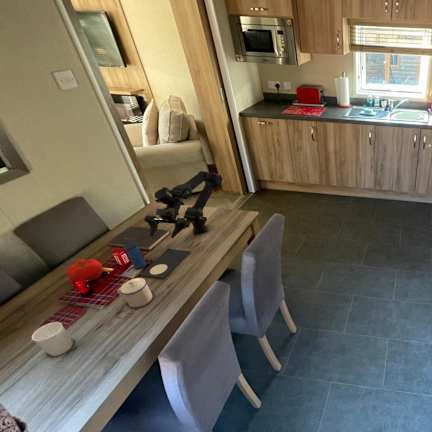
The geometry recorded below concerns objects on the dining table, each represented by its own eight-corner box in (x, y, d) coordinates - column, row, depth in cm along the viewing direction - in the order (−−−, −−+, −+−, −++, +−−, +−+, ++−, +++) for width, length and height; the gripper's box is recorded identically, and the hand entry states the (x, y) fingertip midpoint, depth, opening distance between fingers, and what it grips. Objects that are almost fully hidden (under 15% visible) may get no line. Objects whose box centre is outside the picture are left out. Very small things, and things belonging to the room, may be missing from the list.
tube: (134, 264, 154) (123, 244, 147) (146, 261, 157) (136, 240, 149) (134, 270, 151) (124, 250, 144) (147, 266, 153) (137, 246, 146)
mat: (168, 249, 164) (168, 248, 164) (190, 252, 164) (189, 251, 163) (139, 276, 148) (139, 274, 147) (163, 279, 147) (163, 277, 147)
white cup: (58, 339, 119) (43, 322, 113) (80, 338, 120) (67, 321, 114) (41, 358, 112) (25, 341, 107) (64, 357, 113) (50, 340, 108)
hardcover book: (150, 250, 163) (148, 247, 162) (109, 245, 165) (107, 242, 163) (170, 232, 176) (169, 229, 175) (132, 228, 178) (131, 225, 177)
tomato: (108, 277, 146) (100, 263, 141) (75, 290, 139) (65, 275, 134) (103, 266, 152) (95, 252, 147) (71, 278, 144) (61, 263, 139)
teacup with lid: (157, 292, 140) (148, 273, 134) (145, 308, 133) (134, 289, 126) (130, 292, 140) (119, 273, 133) (116, 308, 132) (104, 288, 126)
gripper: (143, 199, 149) (131, 228, 142) (185, 202, 151) (174, 232, 144) (155, 210, 159) (144, 238, 151) (194, 213, 161) (184, 241, 154)
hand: (161, 237), depth 150 cm, fingers open, 9 cm apart
